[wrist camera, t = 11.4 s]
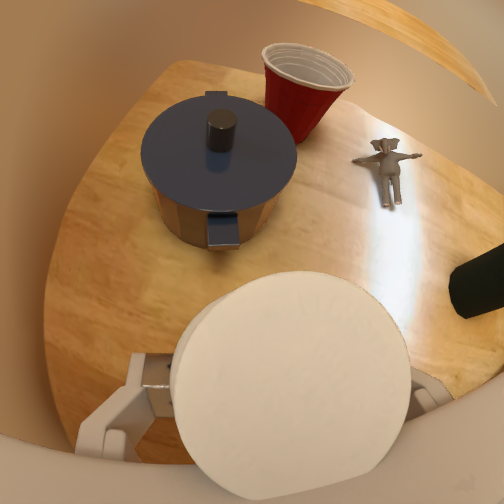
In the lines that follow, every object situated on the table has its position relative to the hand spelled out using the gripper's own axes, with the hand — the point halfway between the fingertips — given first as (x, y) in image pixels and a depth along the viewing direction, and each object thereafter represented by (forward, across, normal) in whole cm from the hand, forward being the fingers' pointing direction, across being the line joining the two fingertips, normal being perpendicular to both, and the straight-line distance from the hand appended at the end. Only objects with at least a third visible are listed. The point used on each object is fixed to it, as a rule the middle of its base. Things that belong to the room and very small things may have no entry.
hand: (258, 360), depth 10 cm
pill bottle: (+4, 0, +5) cm, 6 cm away
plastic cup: (+32, -9, -8) cm, 35 cm away
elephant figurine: (+27, -23, -2) cm, 35 cm away
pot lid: (+18, 0, -6) cm, 19 cm away
